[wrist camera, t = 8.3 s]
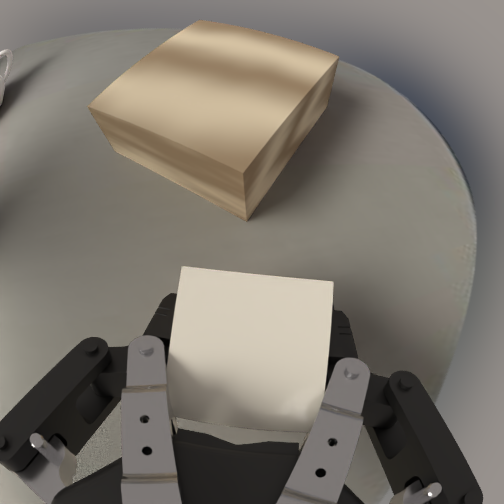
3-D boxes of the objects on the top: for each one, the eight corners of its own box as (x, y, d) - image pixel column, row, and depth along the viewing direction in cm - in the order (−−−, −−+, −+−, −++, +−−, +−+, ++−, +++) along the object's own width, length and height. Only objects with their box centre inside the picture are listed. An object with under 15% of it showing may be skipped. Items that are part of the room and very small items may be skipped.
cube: (291, 394, 15) (318, 432, 8) (205, 384, 16) (162, 413, 8) (299, 311, 17) (333, 281, 9) (215, 302, 17) (181, 266, 9)
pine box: (246, 223, 19) (242, 173, 14) (116, 153, 22) (87, 106, 16) (326, 109, 23) (339, 56, 17) (206, 66, 25) (199, 19, 19)
